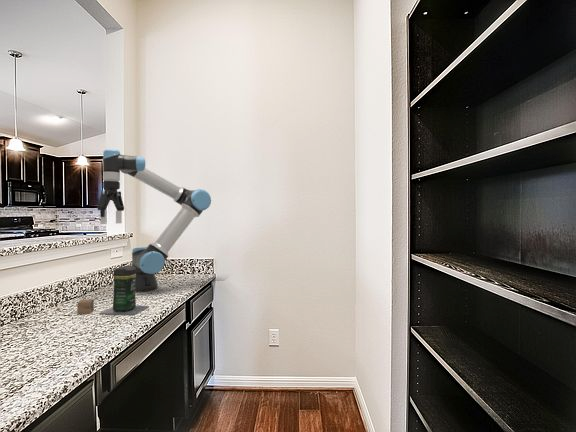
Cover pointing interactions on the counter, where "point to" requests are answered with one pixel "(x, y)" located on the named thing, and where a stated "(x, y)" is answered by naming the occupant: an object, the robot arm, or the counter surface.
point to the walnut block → (85, 306)
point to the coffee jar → (124, 288)
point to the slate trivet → (130, 312)
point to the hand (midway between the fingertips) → (111, 223)
